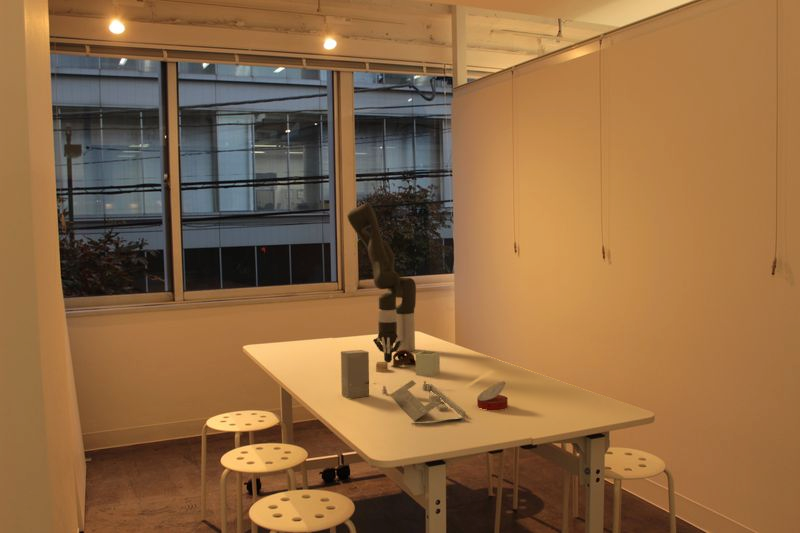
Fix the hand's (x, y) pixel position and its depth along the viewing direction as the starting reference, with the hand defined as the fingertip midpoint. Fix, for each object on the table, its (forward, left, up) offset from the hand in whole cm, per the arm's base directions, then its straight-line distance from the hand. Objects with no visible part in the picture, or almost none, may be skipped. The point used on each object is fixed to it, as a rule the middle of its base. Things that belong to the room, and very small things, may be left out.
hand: (388, 362), depth 320 cm
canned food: (+43, +60, -2) cm, 74 cm away
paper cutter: (+51, +39, -3) cm, 65 cm away
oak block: (+10, +2, -2) cm, 10 cm away
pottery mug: (-2, +6, -2) cm, 7 cm away
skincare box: (+47, +11, -2) cm, 48 cm away
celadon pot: (+9, +22, -2) cm, 24 cm away
